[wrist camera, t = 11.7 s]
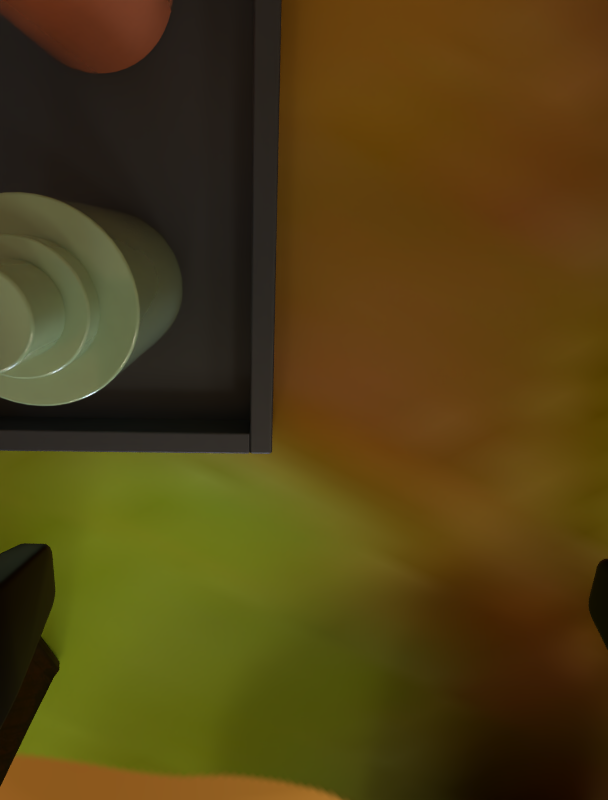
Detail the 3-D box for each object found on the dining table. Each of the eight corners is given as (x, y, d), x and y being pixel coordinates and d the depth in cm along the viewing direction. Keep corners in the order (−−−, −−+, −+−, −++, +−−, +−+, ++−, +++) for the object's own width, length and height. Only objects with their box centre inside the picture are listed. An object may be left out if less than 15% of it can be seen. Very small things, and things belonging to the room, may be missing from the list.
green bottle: (181, 212, 18) (98, 184, 9) (185, 355, 20) (116, 445, 11) (30, 205, 18) (-197, 171, 9) (45, 352, 19) (-140, 441, 11)
